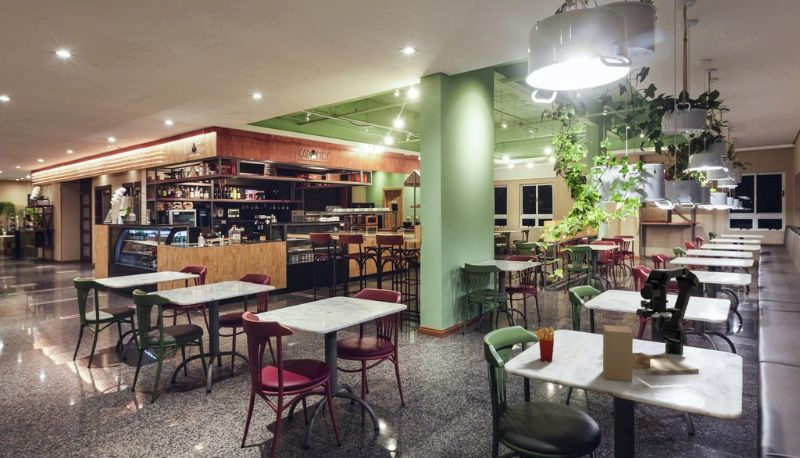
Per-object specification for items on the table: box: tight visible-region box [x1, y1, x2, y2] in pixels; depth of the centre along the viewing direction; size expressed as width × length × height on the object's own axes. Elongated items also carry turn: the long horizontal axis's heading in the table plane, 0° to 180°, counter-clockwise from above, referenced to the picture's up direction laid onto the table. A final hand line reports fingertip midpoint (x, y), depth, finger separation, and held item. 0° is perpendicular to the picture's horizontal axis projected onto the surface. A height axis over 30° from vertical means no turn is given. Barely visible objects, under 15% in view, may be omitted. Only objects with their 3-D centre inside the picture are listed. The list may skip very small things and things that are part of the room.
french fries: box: [535, 326, 555, 363], centre depth 211 cm, size 9×8×15 cm
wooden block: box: [602, 324, 634, 383], centre depth 188 cm, size 10×10×20 cm
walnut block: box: [632, 352, 650, 370], centre depth 198 cm, size 6×6×5 cm
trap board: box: [637, 353, 700, 376], centre depth 198 cm, size 22×20×2 cm
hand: (658, 331), depth 208 cm, fingers closed
